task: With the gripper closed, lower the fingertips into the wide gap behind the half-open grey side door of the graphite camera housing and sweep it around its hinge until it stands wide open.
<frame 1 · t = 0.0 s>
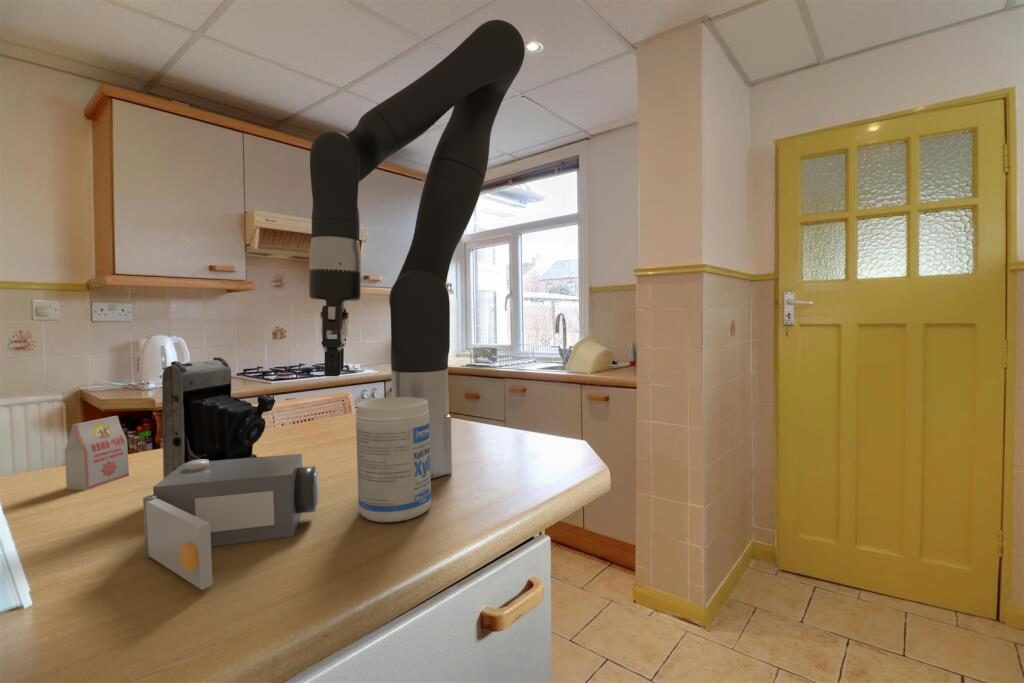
hand: (334, 373, 76), 17 cm above the countertop, fingers open, 8 cm apart
supplement tub: (395, 511, 65), on the countertop
camera housing: (237, 528, 60), on the countertop
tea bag: (99, 483, 78), on the countertop
side door: (171, 540, 49), point 3 cm above the countertop, hinge at 50.0°
vintage camera: (234, 491, 73), on the countertop
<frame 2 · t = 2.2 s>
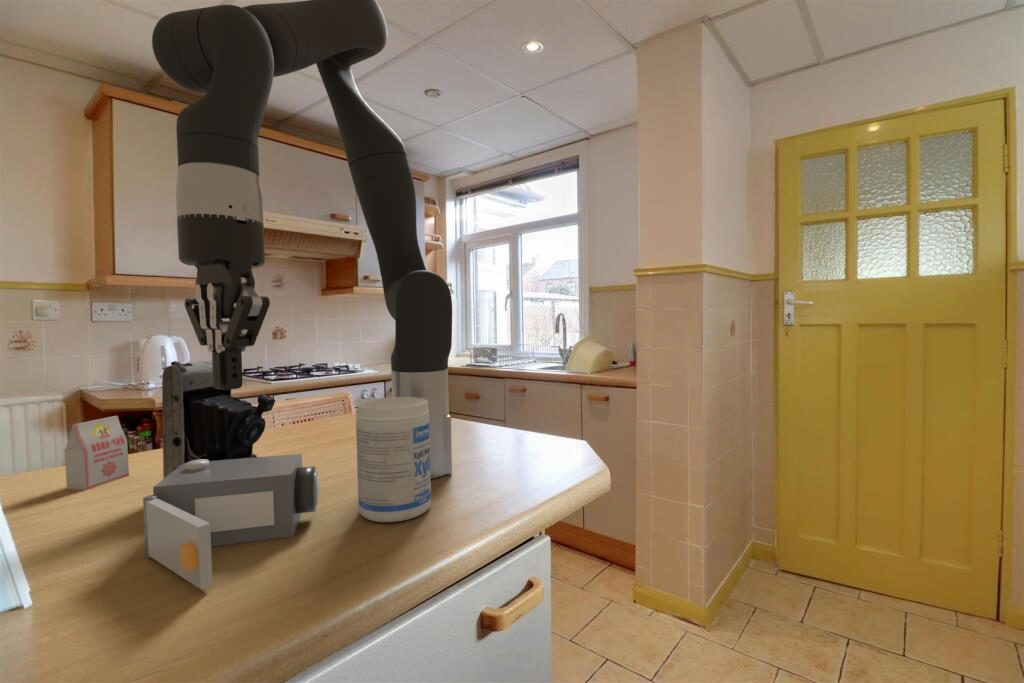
hand: (228, 388, 50), 19 cm above the countertop, fingers closed
nothing on the countertop moved.
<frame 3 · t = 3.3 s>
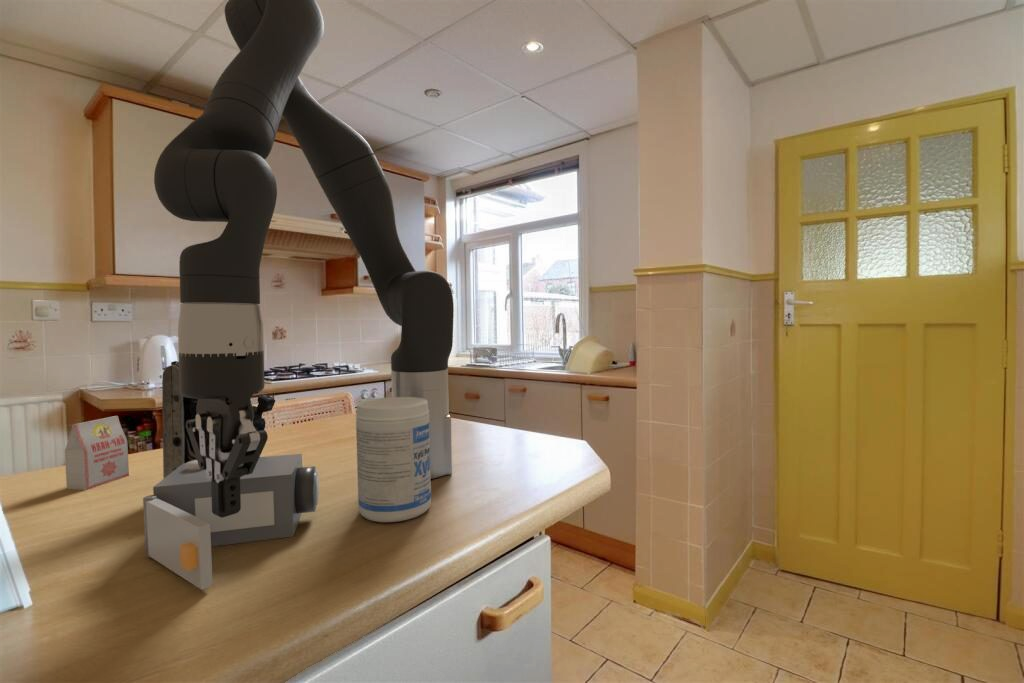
hand: (226, 513, 51), 6 cm above the countertop, fingers closed
nothing on the countertop moved.
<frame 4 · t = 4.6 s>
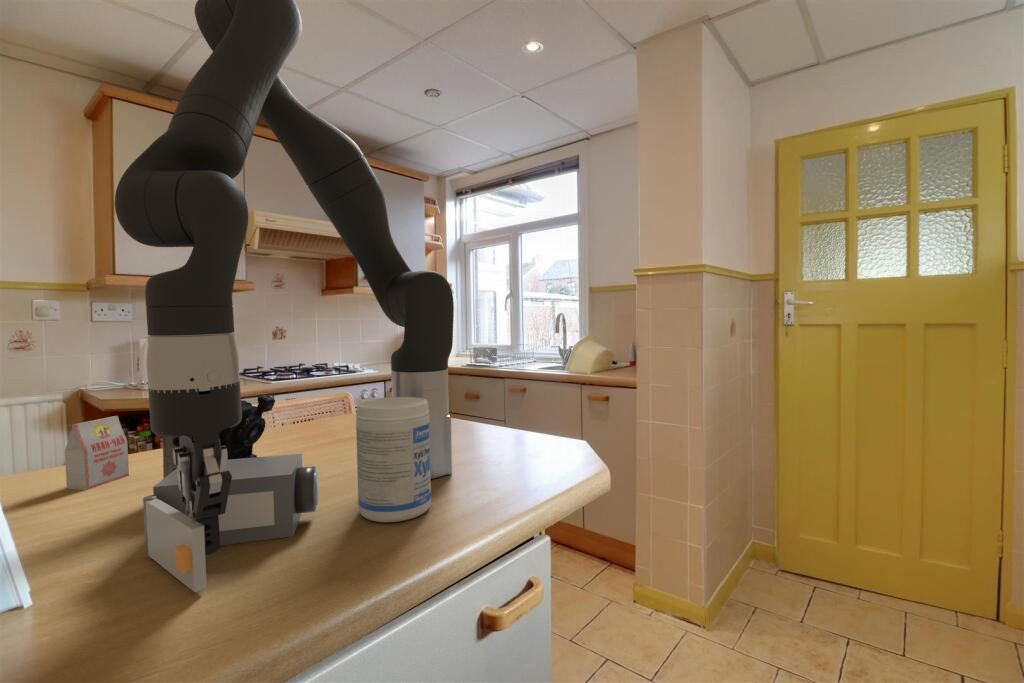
hand: (206, 551, 49), 3 cm above the countertop, fingers closed
side door: (168, 541, 49), point 3 cm above the countertop, hinge at 52.6°, touching gripper
everything else where it was.
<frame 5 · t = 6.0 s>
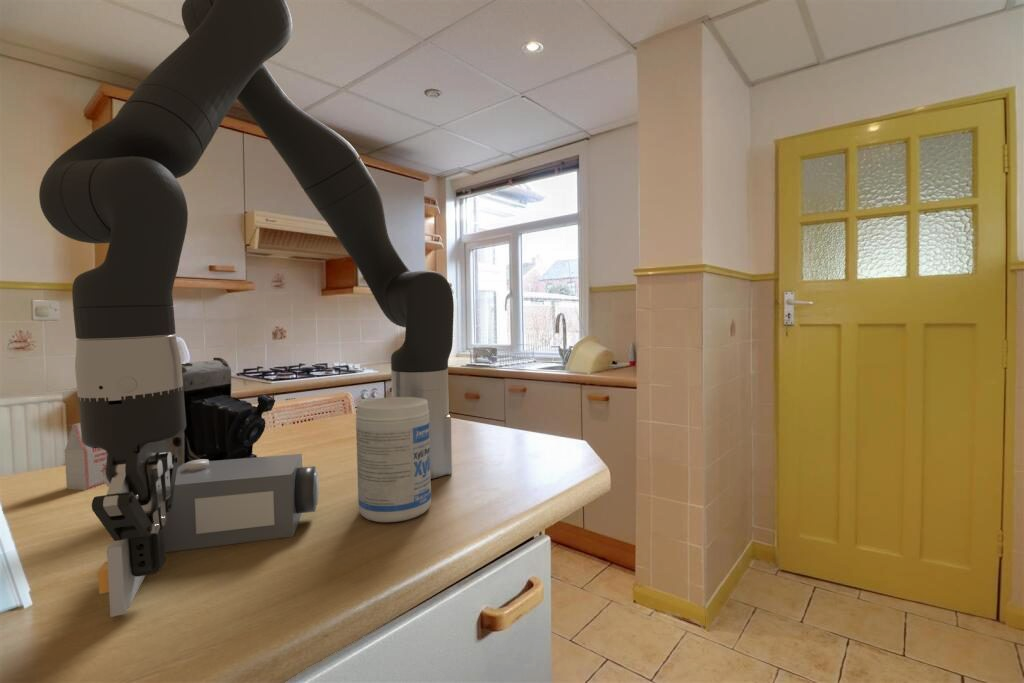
hand: (149, 571, 45), 3 cm above the countertop, fingers closed
side door: (132, 549, 47), point 3 cm above the countertop, hinge at 81.1°, touching gripper
everything else where it was.
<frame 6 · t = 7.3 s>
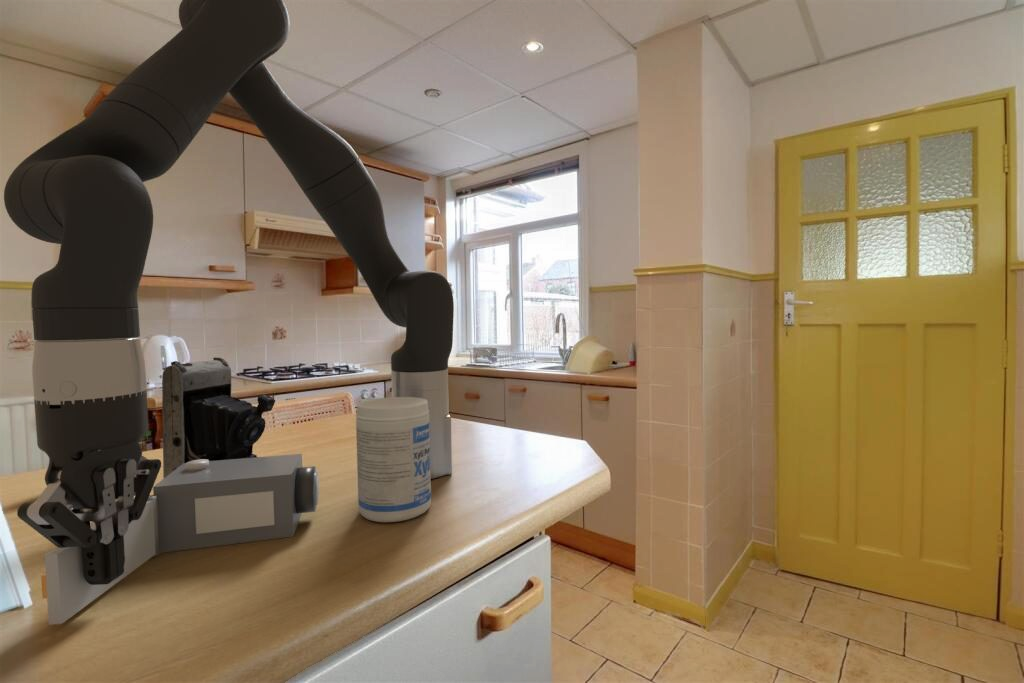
hand: (105, 580, 44), 2 cm above the countertop, fingers closed
side door: (107, 552, 47), point 3 cm above the countertop, hinge at 101.9°
everything else where it was.
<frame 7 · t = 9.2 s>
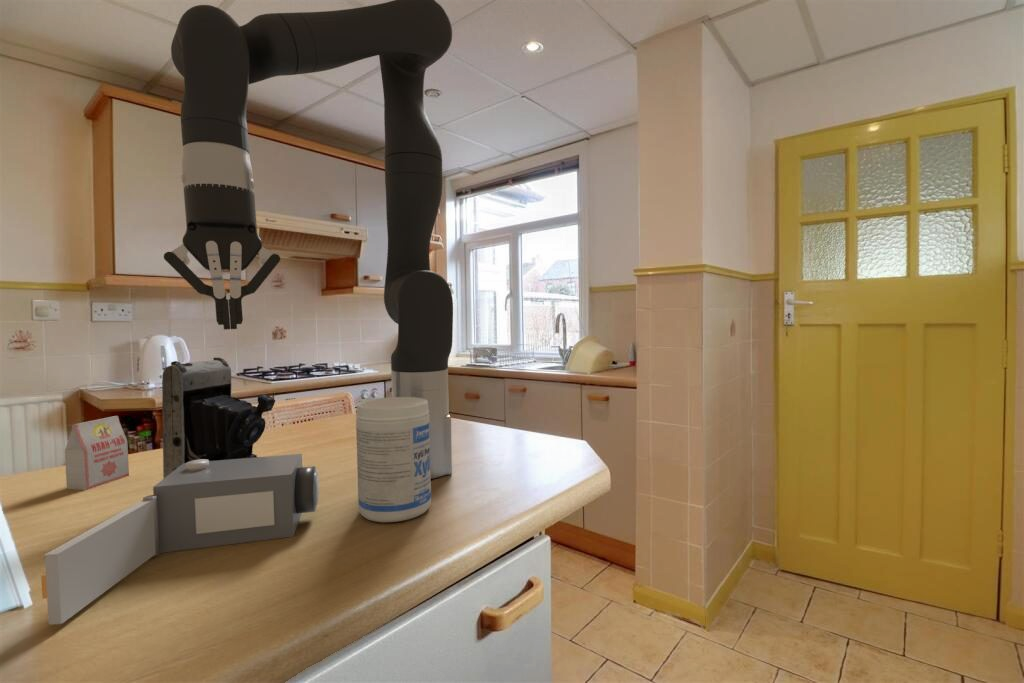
hand: (230, 328, 61), 25 cm above the countertop, fingers closed
nothing on the countertop moved.
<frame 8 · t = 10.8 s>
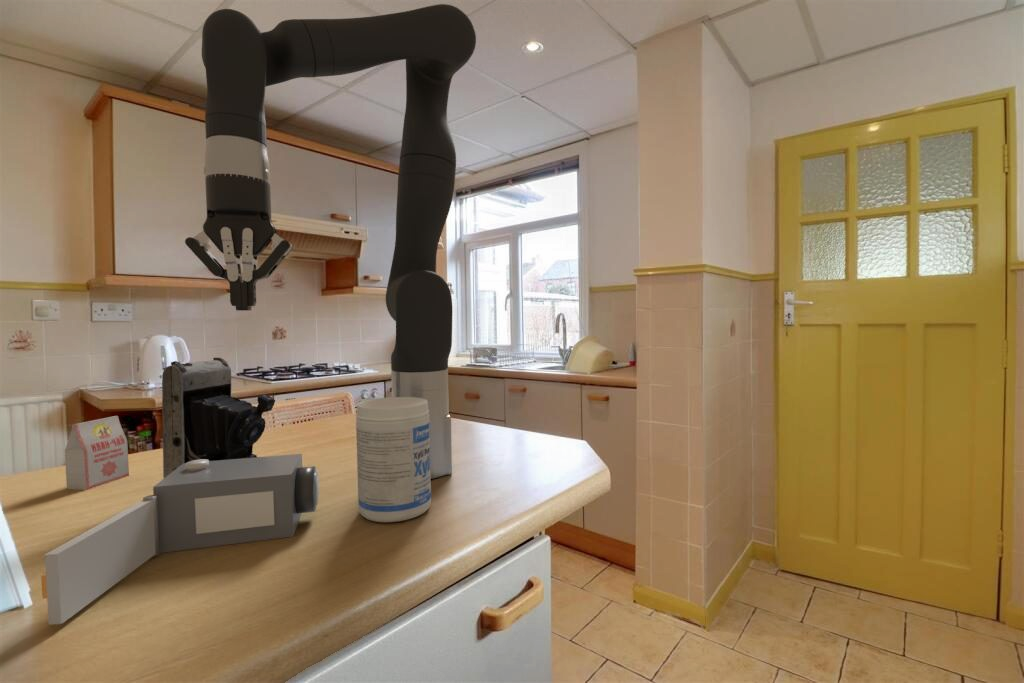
hand: (243, 310, 65), 27 cm above the countertop, fingers closed
nothing on the countertop moved.
at the end: side door at +102° (first picture: +50°); side door touching nothing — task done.
